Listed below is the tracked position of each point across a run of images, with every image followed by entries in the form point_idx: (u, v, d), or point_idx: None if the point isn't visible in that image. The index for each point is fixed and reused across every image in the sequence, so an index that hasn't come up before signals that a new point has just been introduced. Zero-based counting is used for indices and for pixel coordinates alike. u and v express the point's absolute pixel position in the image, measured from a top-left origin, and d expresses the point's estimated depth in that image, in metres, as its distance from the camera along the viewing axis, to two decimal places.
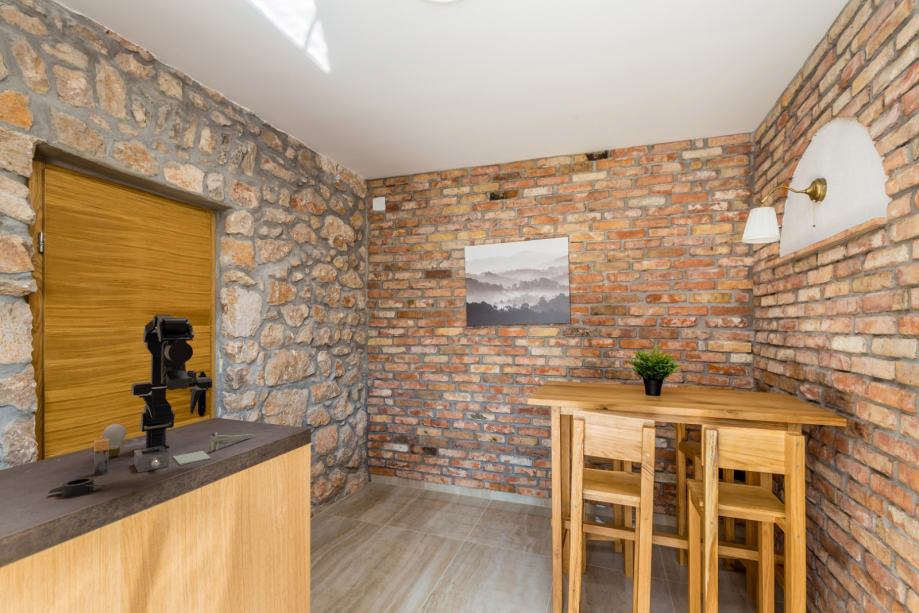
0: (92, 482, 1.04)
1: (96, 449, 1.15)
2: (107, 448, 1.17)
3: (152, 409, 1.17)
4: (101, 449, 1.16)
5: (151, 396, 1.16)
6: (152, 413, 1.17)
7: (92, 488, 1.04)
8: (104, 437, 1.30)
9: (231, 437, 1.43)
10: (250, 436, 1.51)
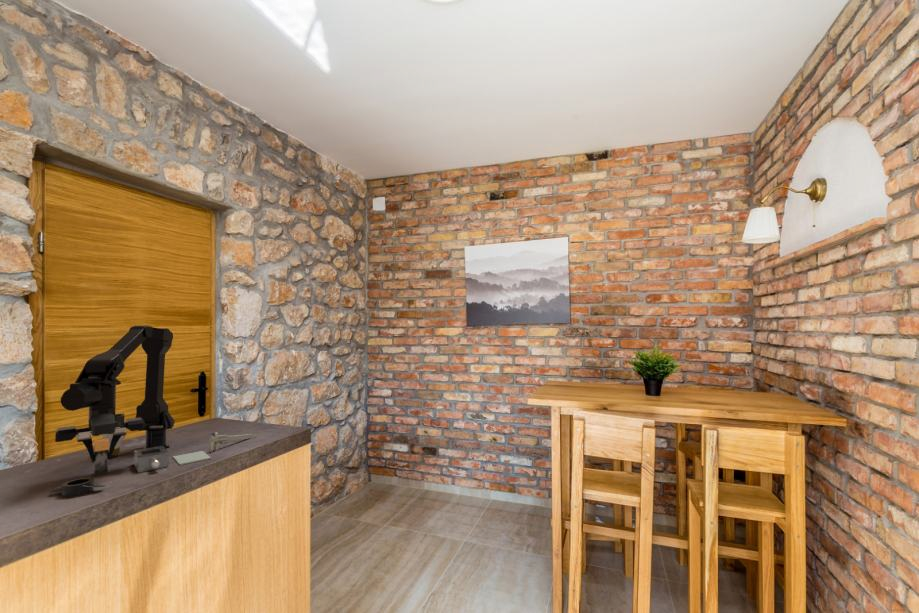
0: (91, 483, 1.04)
1: (96, 449, 1.15)
2: (107, 448, 1.17)
3: (92, 452, 1.15)
4: (101, 449, 1.16)
5: (90, 440, 1.14)
6: (92, 456, 1.15)
7: (91, 489, 1.04)
8: (104, 437, 1.30)
9: (231, 437, 1.43)
10: (250, 436, 1.51)
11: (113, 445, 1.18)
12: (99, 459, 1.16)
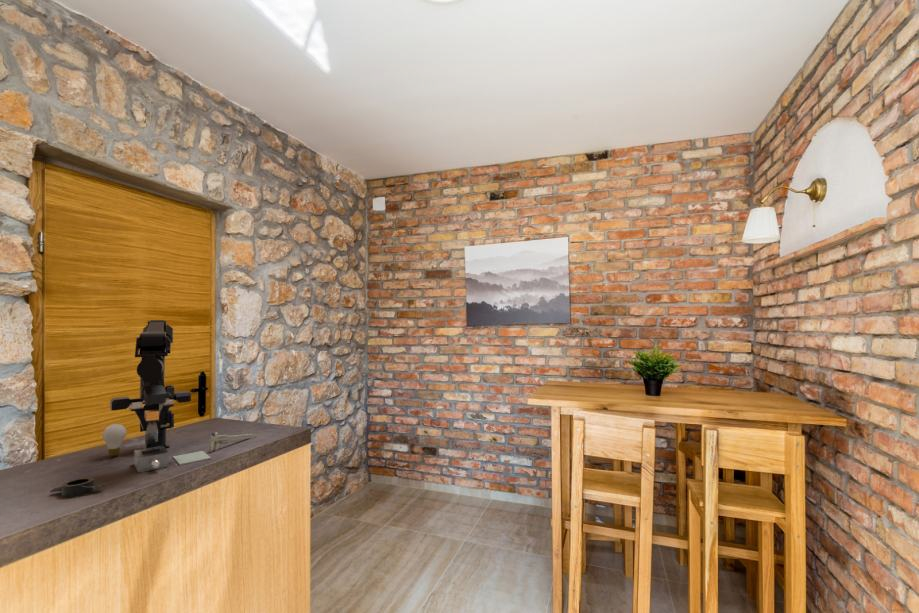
0: (91, 483, 1.04)
1: (147, 419, 1.22)
2: (157, 418, 1.23)
3: (143, 422, 1.22)
4: (152, 419, 1.23)
5: (142, 409, 1.20)
6: (143, 425, 1.22)
7: (91, 489, 1.04)
8: (104, 437, 1.30)
9: (231, 437, 1.43)
10: (250, 436, 1.52)
11: (162, 415, 1.25)
12: (150, 428, 1.22)
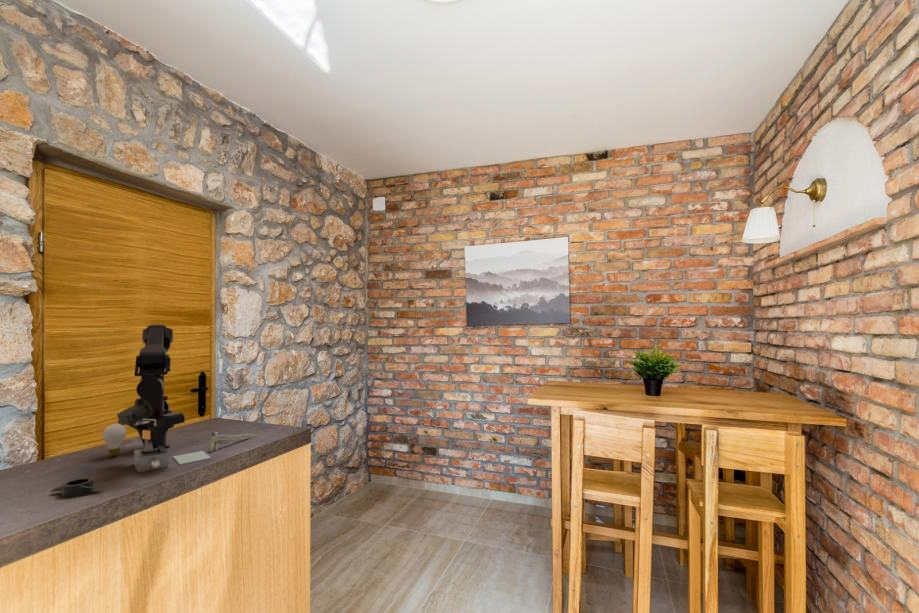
0: (90, 483, 1.04)
1: (143, 437, 1.22)
2: (149, 438, 1.22)
3: (142, 439, 1.23)
4: (146, 438, 1.22)
5: (135, 427, 1.22)
6: (143, 442, 1.23)
7: (90, 489, 1.04)
8: (104, 437, 1.30)
9: (231, 437, 1.43)
10: (250, 436, 1.52)
11: (153, 436, 1.22)
12: (145, 447, 1.22)
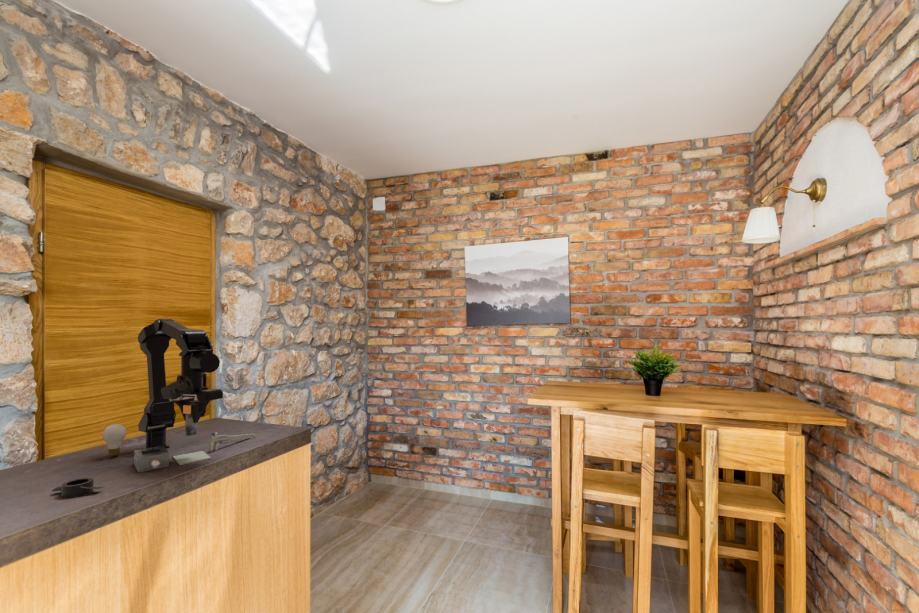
0: (89, 484, 1.03)
1: (184, 411, 1.29)
2: (189, 412, 1.28)
3: None
4: (186, 412, 1.28)
5: (177, 402, 1.28)
6: (184, 417, 1.29)
7: (89, 490, 1.03)
8: (104, 437, 1.30)
9: (231, 437, 1.43)
10: (250, 436, 1.52)
11: (194, 411, 1.28)
12: (186, 421, 1.28)
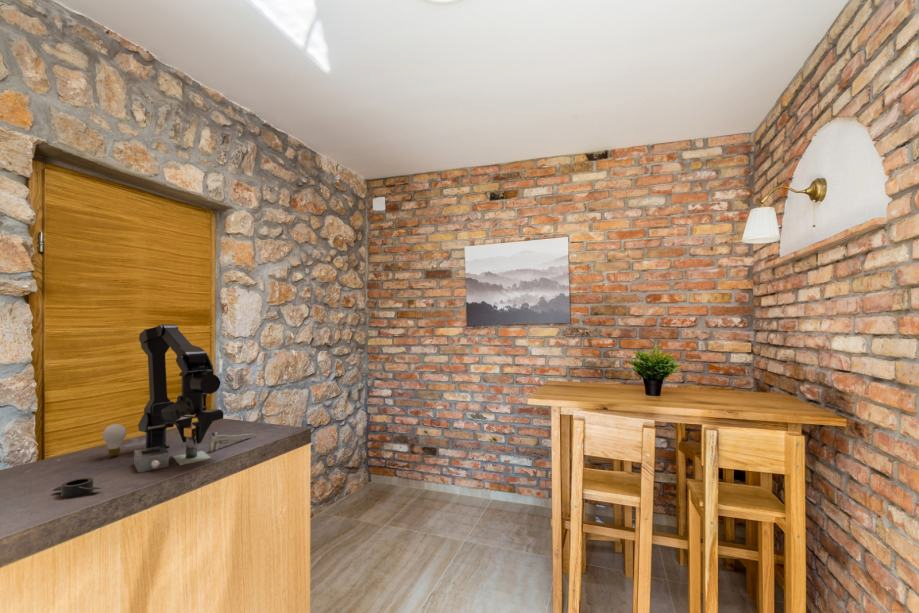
0: (88, 484, 1.03)
1: (184, 434, 1.28)
2: (190, 436, 1.28)
3: (181, 433, 1.29)
4: (187, 435, 1.28)
5: (175, 422, 1.28)
6: (181, 437, 1.30)
7: (88, 490, 1.03)
8: (104, 437, 1.30)
9: (231, 437, 1.43)
10: (250, 436, 1.52)
11: (197, 431, 1.27)
12: (186, 444, 1.28)
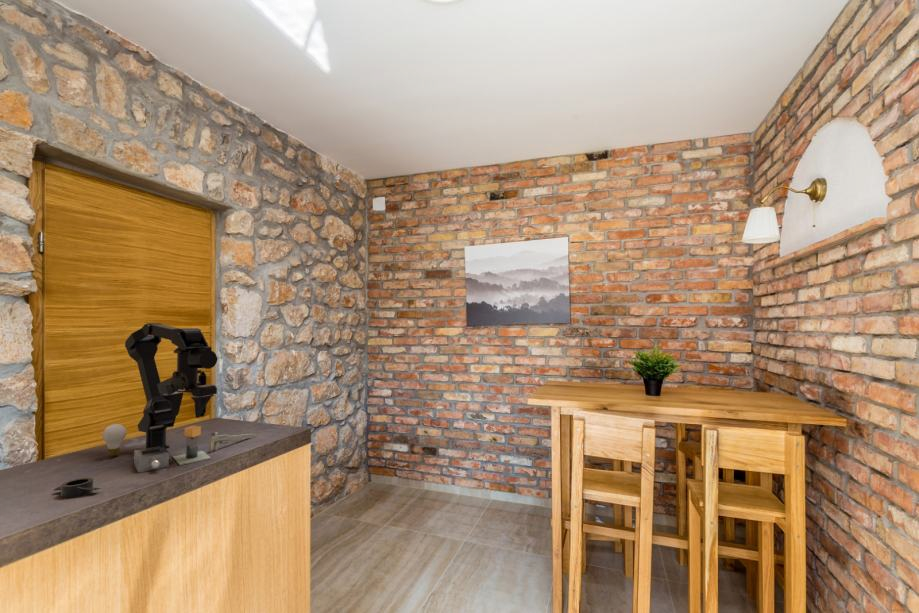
0: (88, 484, 1.03)
1: (185, 434, 1.28)
2: (191, 436, 1.28)
3: (172, 407, 1.36)
4: (188, 435, 1.28)
5: (166, 396, 1.34)
6: (172, 411, 1.36)
7: (88, 490, 1.03)
8: (104, 437, 1.30)
9: (231, 437, 1.43)
10: (250, 436, 1.52)
11: (196, 406, 1.32)
12: (187, 444, 1.28)
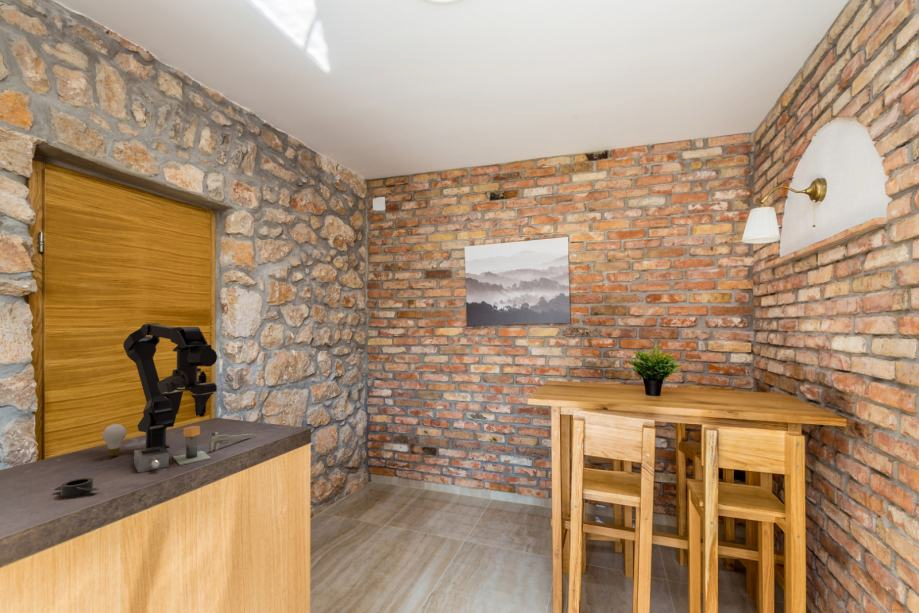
0: (87, 485, 1.03)
1: (184, 434, 1.28)
2: (190, 435, 1.28)
3: (172, 406, 1.36)
4: (187, 435, 1.28)
5: (166, 395, 1.35)
6: (172, 409, 1.36)
7: (87, 491, 1.03)
8: (104, 437, 1.30)
9: (231, 437, 1.43)
10: (250, 436, 1.52)
11: (196, 404, 1.33)
12: (186, 444, 1.28)
